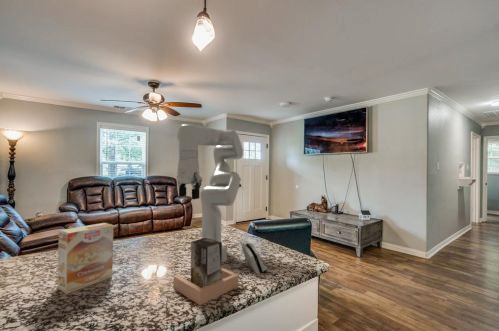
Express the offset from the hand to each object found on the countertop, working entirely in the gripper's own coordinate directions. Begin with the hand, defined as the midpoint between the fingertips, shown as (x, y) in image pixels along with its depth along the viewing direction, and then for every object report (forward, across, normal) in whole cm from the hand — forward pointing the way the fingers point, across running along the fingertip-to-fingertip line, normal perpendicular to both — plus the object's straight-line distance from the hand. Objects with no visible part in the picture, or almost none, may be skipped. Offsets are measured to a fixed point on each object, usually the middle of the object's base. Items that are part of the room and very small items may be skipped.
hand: (188, 197), depth 100 cm
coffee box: (+28, +21, -6) cm, 36 cm away
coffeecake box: (+28, -13, -33) cm, 45 cm away
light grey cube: (+29, +3, +12) cm, 32 cm away
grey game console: (+29, +17, +20) cm, 39 cm away
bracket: (+28, +19, -5) cm, 34 cm away
